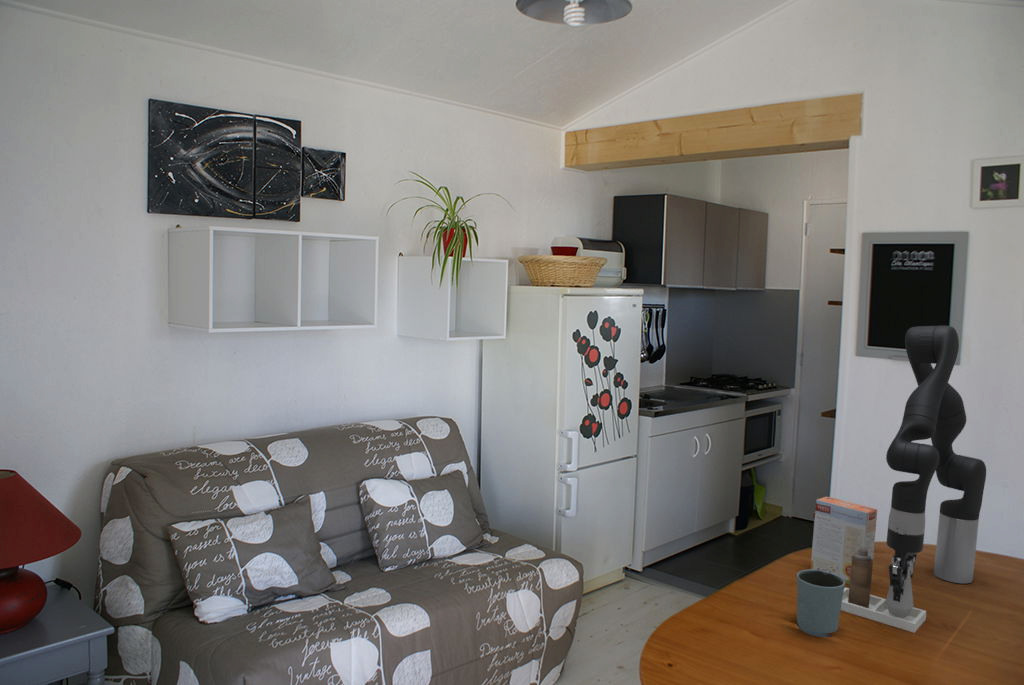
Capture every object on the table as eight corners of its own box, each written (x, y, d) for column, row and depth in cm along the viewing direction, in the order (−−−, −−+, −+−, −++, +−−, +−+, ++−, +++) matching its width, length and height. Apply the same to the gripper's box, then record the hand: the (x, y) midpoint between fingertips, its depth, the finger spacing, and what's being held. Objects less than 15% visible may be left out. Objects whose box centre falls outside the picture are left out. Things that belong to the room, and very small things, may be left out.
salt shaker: (915, 620, 180) (920, 565, 179) (888, 617, 181) (893, 562, 180) (908, 609, 186) (913, 556, 185) (881, 606, 187) (886, 553, 186)
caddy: (844, 599, 196) (845, 587, 196) (925, 623, 184) (926, 611, 184) (830, 610, 189) (831, 598, 189) (913, 636, 177) (915, 624, 177)
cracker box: (871, 587, 204) (878, 508, 202) (860, 593, 201) (867, 512, 198) (820, 570, 215) (827, 494, 213) (809, 575, 211) (815, 498, 209)
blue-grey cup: (839, 623, 182) (843, 573, 181) (842, 643, 173) (846, 590, 171) (792, 615, 185) (796, 566, 184) (793, 634, 176) (797, 582, 175)
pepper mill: (851, 601, 193) (856, 542, 191) (871, 607, 190) (876, 547, 188) (845, 606, 189) (850, 547, 188) (865, 613, 186) (870, 552, 185)
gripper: (897, 517, 189) (891, 587, 191) (879, 531, 179) (872, 604, 180) (932, 525, 184) (925, 596, 186) (915, 539, 174) (908, 615, 176)
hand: (899, 600), depth 183 cm, fingers closed on salt shaker, 3 cm apart
